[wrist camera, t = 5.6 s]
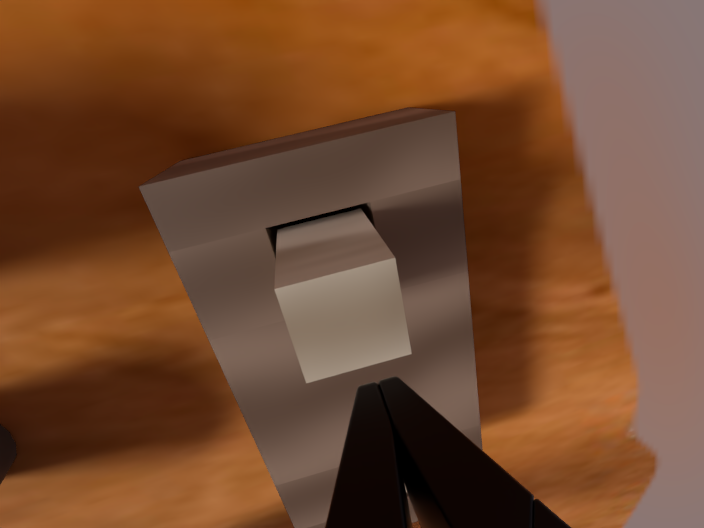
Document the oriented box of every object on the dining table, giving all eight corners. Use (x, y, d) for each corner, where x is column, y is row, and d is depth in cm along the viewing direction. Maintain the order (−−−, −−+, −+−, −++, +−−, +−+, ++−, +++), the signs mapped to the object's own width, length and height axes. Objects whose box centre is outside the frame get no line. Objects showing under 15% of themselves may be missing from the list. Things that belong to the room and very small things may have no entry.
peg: (375, 282, 14) (411, 353, 10) (299, 302, 14) (306, 383, 10) (360, 208, 13) (395, 257, 9) (277, 229, 13) (274, 289, 9)
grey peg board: (449, 427, 25) (486, 499, 20) (302, 470, 24) (307, 555, 20) (407, 107, 16) (455, 111, 12) (179, 161, 16) (138, 186, 11)
